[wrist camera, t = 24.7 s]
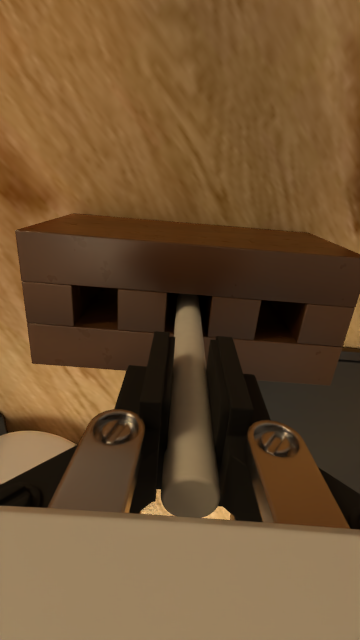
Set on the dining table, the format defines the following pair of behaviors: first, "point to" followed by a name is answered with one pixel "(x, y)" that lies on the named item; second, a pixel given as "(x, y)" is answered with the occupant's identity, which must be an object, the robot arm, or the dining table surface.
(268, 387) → the tablet
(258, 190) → the dining table surface
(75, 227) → the pen block
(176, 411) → the rod
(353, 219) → the dining table surface
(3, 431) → the coffee press
